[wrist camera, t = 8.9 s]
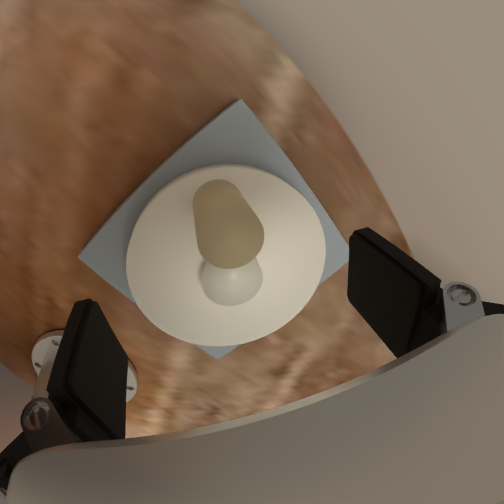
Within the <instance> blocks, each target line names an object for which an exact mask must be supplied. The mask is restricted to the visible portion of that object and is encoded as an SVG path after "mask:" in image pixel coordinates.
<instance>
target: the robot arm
mask: <svg viewBox="0 0 504 504" xmlns="http://www.w3.org/2000/svg"><path fill="white" fill-rule="evenodd" d="M440 283H441V280H440V279H439V278H438V277H436V276H435V275H434V274H432V273H431V272H430V271H429V270H427V269H426V268H425V267H423V266H422V265H421V264H419V263H418V262H417V261H415V260H414V259H413V258H411V257H410V256H409V255H407V254H406V253H404V252H403V251H402V250H400V249H399V248H397V247H396V246H395V245H393V244H392V243H390V242H389V241H388V240H386V239H385V238H383V237H382V236H380V235H379V234H378V233H376V232H375V231H373V230H372V229H370V228H368V227H367V228H363V229H359V230H355V231H354V232H353V234H352V235H351V236H350V238H349V268H348V290H347V296H348V299H349V301H350V303H351V304H352V305H353V306H354V308H355V309H356V310H357V311H358V312H359V313H360V315H361V316H362V317H363V318H364V319H365V320H366V322H367V323H368V324H369V325H370V326H371V328H372V329H373V330H374V331H375V332H376V333H377V335H378V336H379V337H380V338H381V339H382V341H383V342H384V343H385V344H386V345H387V347H388V348H389V349H390V350H391V352H392V353H393V354H394V355H395V356H396V357H397V359H395V360H393V361H391V362H389V363H387V364H385V365H383V366H381V367H379V368H377V369H375V370H373V371H371V372H368V373H366V374H364V375H362V376H360V377H357V378H355V379H353V380H350V381H348V382H346V383H343V384H341V385H338V386H336V387H333V388H331V389H328V390H326V391H323V392H320V393H318V394H315V395H312V396H310V397H307V398H304V399H301V400H298V401H295V402H292V403H289V404H286V405H283V406H280V407H277V408H274V409H271V410H267V411H264V412H261V413H257V414H253V415H250V416H246V417H242V418H239V419H235V420H231V421H226V422H222V423H218V424H214V425H209V426H204V427H200V428H195V429H189V430H184V431H178V432H172V433H166V434H159V435H152V436H144V437H136V438H127V439H125V422H126V403H127V402H128V401H130V400H131V399H132V398H133V397H134V395H135V394H136V391H137V385H138V378H137V373H136V371H135V369H134V367H133V365H132V364H131V362H130V361H129V360H128V358H127V355H126V353H125V351H124V350H123V348H122V346H121V344H120V343H119V341H118V339H117V338H116V336H115V334H114V332H113V331H112V329H111V327H110V325H109V323H108V322H107V320H106V318H105V316H104V314H103V312H102V310H101V309H100V307H99V305H98V303H97V302H96V301H94V302H93V301H92V300H91V299H85V300H81V301H77V302H75V304H74V306H73V309H72V312H71V314H70V317H69V319H68V322H67V325H66V327H65V330H56V331H52V332H48V333H46V334H44V335H42V336H41V337H40V338H39V339H38V340H37V341H36V343H35V345H34V347H33V350H32V354H31V356H32V364H33V367H34V369H35V371H36V373H37V375H38V379H37V382H36V386H35V389H34V393H33V396H32V400H31V401H30V402H29V403H28V404H27V405H26V406H25V408H24V409H23V411H22V414H21V419H20V423H21V427H22V429H23V432H22V433H21V434H20V435H19V436H18V437H17V438H16V439H15V440H13V441H12V442H11V443H10V444H9V445H8V446H7V447H6V448H5V449H4V450H3V451H2V452H1V453H0V504H504V305H502V304H495V303H489V302H483V301H481V298H480V295H479V293H478V291H477V290H476V289H475V288H474V287H472V286H471V285H469V284H466V283H463V282H451V283H448V284H447V285H445V287H444V288H443V289H442V288H440Z"/></svg>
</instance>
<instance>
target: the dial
mask: <svg viewBox="0 0 504 504" xmlns="http://www.w3.org/2000/svg"><path fill="white" fill-rule="evenodd" d="M325 256H326V244H325V237H324V232H323V228H322V225H321V223H320V220H319V218H318V216H317V214H316V212H315V211H314V209H313V207H312V206H311V205H310V204H309V202H308V201H307V200H306V199H305V198H304V197H303V196H302V195H301V194H300V193H299V192H298V191H297V190H296V189H294V188H293V187H292V186H290V185H289V184H288V183H286V182H285V181H283V180H282V179H280V178H279V177H277V176H276V175H274V174H272V173H270V172H268V171H265V170H263V169H260V168H257V167H253V166H249V165H243V164H229V163H223V164H214V165H208V166H204V167H200V168H197V169H194V170H191V171H189V172H186V173H184V174H182V175H180V176H178V177H177V178H175V179H173V180H172V181H170V182H169V183H167V184H166V185H165V186H164V187H162V188H161V189H160V190H159V191H158V192H157V193H156V194H155V195H154V196H153V197H152V198H151V199H150V200H149V202H148V203H147V204H146V206H145V207H144V209H143V210H142V212H141V214H140V216H139V218H138V220H137V222H136V224H135V227H134V230H133V233H132V236H131V239H130V242H129V246H128V250H127V257H126V274H127V280H128V285H129V288H130V291H131V294H132V296H133V298H134V300H135V302H136V304H137V306H138V307H139V308H140V310H141V311H142V313H143V314H144V315H145V316H146V317H147V318H148V319H149V320H150V321H151V322H152V323H153V324H154V325H155V326H157V327H158V328H159V329H161V330H162V331H164V332H165V333H167V334H169V335H171V336H173V337H175V338H177V339H179V340H182V341H185V342H188V343H193V344H197V345H203V346H232V345H238V344H243V343H247V342H250V341H254V340H257V339H259V338H262V337H264V336H266V335H268V334H270V333H272V332H274V331H276V330H277V329H279V328H281V327H282V326H284V325H285V324H286V323H288V322H289V321H290V320H291V319H293V318H294V317H295V316H296V315H297V314H298V313H299V312H300V311H301V310H302V309H303V307H304V306H305V305H306V304H307V303H308V301H309V300H310V298H311V297H312V295H313V294H314V292H315V290H316V288H317V286H318V284H319V282H320V279H321V276H322V273H323V269H324V265H325Z"/></svg>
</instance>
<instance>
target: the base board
mask: <svg viewBox="0 0 504 504" xmlns="http://www.w3.org/2000/svg"><path fill="white" fill-rule="evenodd" d="M223 163H229V164H243V165H249V166H253V167H257V168H260V169H263V170H265V171H268V172H270V173H272V174H274V175H276V176H277V177H279V178H280V179H282V180H283V181H285V182H286V183H288V184H289V185H290V186H292V187H293V188H294V189H296V190H297V191H298V192H299V193H300V194H301V195H302V196H303V197H304V198H305V199H306V200H307V201H308V202H309V204H310V205H311V206H312V207H313V209H314V211H315V212H316V214H317V216H318V218H319V220H320V223H321V225H322V228H323V232H324V237H325V244H326V256H325V265H324V269H323V273H322V276H321V279H320V282H319V284H318V285H320V284H321V283H322V282H323V281H325V280H326V279H327V278H328V277H330V276H331V275H332V274H333V273H335V272H336V271H337V270H338V269H339V268H341V267H342V266H343V265H344V264H345V263H347V262H348V261H349V246H348V245H347V243H346V242H345V240H344V238H343V237H342V235H341V234H340V232H339V231H338V229H337V228H336V226H335V225H334V223H333V221H332V220H331V218H330V217H329V215H328V214H327V212H326V211H325V209H324V208H323V206H322V205H321V204H320V202H319V201H318V199H317V198H316V196H315V195H314V193H313V192H312V190H311V189H310V188H309V186H308V185H307V183H306V182H305V181H304V179H303V178H302V176H301V175H300V174H299V172H298V171H297V169H296V168H295V167H294V165H293V164H292V163H291V161H290V160H289V158H288V157H287V156H286V154H285V153H284V152H283V150H282V149H281V148H280V146H279V145H278V144H277V143H276V141H275V140H274V139H273V137H272V136H271V135H270V133H269V132H268V131H267V130H266V128H265V127H264V126H263V125H262V123H261V122H260V121H259V120H258V118H257V117H256V116H255V115H254V113H253V112H252V111H251V110H250V108H249V107H248V106H247V105H246V104H245V102H244V101H243V100H242V99H237V100H236V101H234V102H233V103H232V104H231V105H229V106H228V107H227V108H225V109H224V110H223V111H222V112H220V113H219V114H218V115H217V116H215V117H214V118H213V119H212V120H211V121H209V122H208V123H207V124H206V125H204V126H203V127H202V128H201V129H200V130H199V131H197V132H196V133H195V134H194V135H193V136H192V137H190V138H189V139H188V140H187V141H186V142H185V143H184V144H182V145H181V146H180V147H179V148H178V149H177V150H176V151H175V152H174V153H173V154H171V155H170V156H169V157H168V158H167V159H166V160H165V161H164V162H163V163H162V164H161V165H160V166H159V167H158V168H157V169H156V170H154V171H153V172H152V173H151V174H150V175H149V176H148V177H147V178H146V179H145V180H144V181H143V182H142V183H141V184H140V185H139V186H138V187H137V188H136V189H135V190H134V191H133V193H132V194H131V195H130V196H129V197H128V198H127V199H126V200H125V201H124V202H123V203H122V204H121V205H120V206H119V207H118V208H117V210H116V211H115V212H114V213H113V214H112V215H111V216H110V217H109V218H108V220H107V221H106V222H105V223H104V224H103V225H102V226H101V227H100V229H99V230H98V231H97V232H96V233H95V234H94V236H93V237H92V238H91V239H90V240H89V242H88V243H87V244H86V245H85V246H84V248H83V249H82V251H81V253H80V254H79V256H78V258H79V259H80V260H81V261H82V262H83V263H85V264H86V265H87V266H88V267H89V268H90V269H92V270H93V271H94V272H95V273H96V274H98V275H99V276H100V277H101V278H103V279H104V280H105V281H106V282H108V283H109V284H110V285H111V286H113V287H114V288H115V289H116V290H118V291H119V292H120V293H122V294H123V295H124V296H125V297H127V298H128V299H129V300H131V301H132V302H133V303H135V304H136V302H135V300H134V298H133V296H132V294H131V291H130V288H129V285H128V280H127V274H126V257H127V250H128V246H129V242H130V239H131V236H132V233H133V230H134V227H135V224H136V222H137V220H138V218H139V216H140V214H141V212H142V210H143V209H144V207H145V206H146V204H147V203H148V202H149V200H150V199H151V198H152V197H153V196H154V195H155V194H156V193H157V192H158V191H159V190H160V189H161V188H162V187H164V186H165V185H166V184H167V183H169V182H170V181H172V180H173V179H175V178H177V177H178V176H180V175H182V174H184V173H186V172H189V171H191V170H194V169H197V168H200V167H204V166H208V165H214V164H223ZM136 305H137V304H136ZM192 344H193V343H192ZM194 345H195V346H197V347H198V348H200V349H201V350H203V351H205V352H206V353H208V354H209V355H211V356H213V357H214V358H216V359H220V358H221V357H223V356H224V355H226V354H227V353H229V352H230V351H231V350H233V349H234V348H236V347H237V346H239V345H240V344H238V345H232V346H203V345H197V344H194Z"/></svg>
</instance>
